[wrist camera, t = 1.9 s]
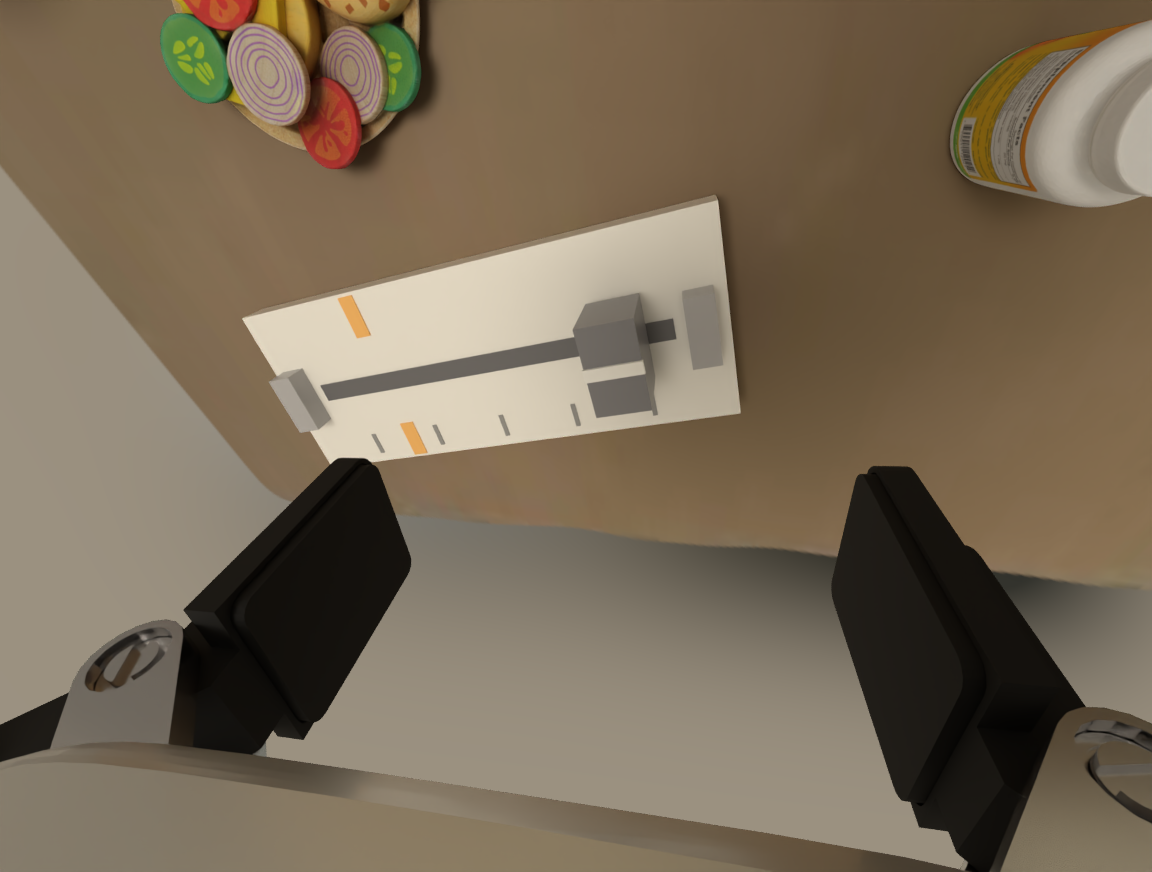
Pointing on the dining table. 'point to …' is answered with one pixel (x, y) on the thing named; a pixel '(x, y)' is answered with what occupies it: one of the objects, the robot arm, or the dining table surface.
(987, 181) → the supplement bottle
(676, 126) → the dining table surface
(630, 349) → the fader knob
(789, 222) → the dining table surface
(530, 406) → the console board
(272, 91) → the toy food set
